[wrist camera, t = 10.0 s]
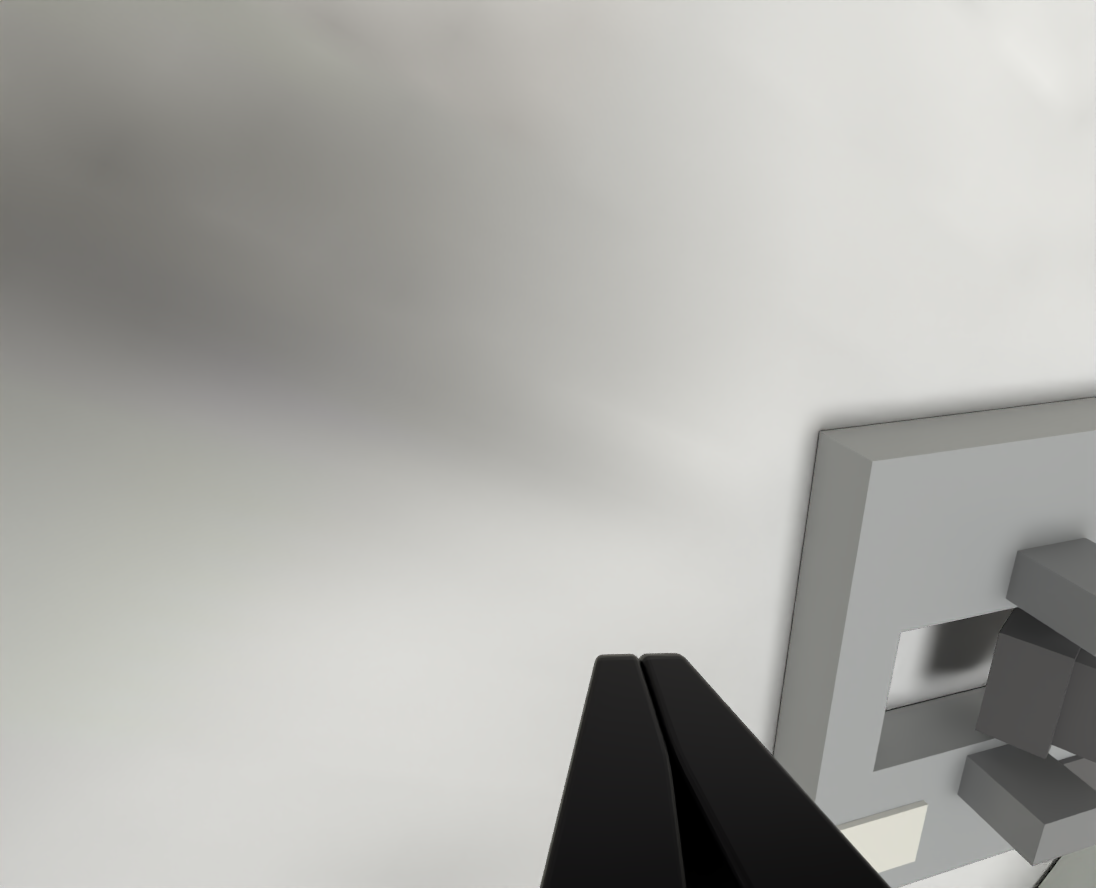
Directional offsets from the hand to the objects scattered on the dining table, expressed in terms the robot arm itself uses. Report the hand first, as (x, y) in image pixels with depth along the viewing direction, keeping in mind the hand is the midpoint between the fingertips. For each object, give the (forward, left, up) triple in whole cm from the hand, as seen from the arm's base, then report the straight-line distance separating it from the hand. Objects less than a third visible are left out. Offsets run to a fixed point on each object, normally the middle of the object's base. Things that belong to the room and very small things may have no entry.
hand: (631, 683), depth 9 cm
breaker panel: (+3, -21, -12) cm, 25 cm away
